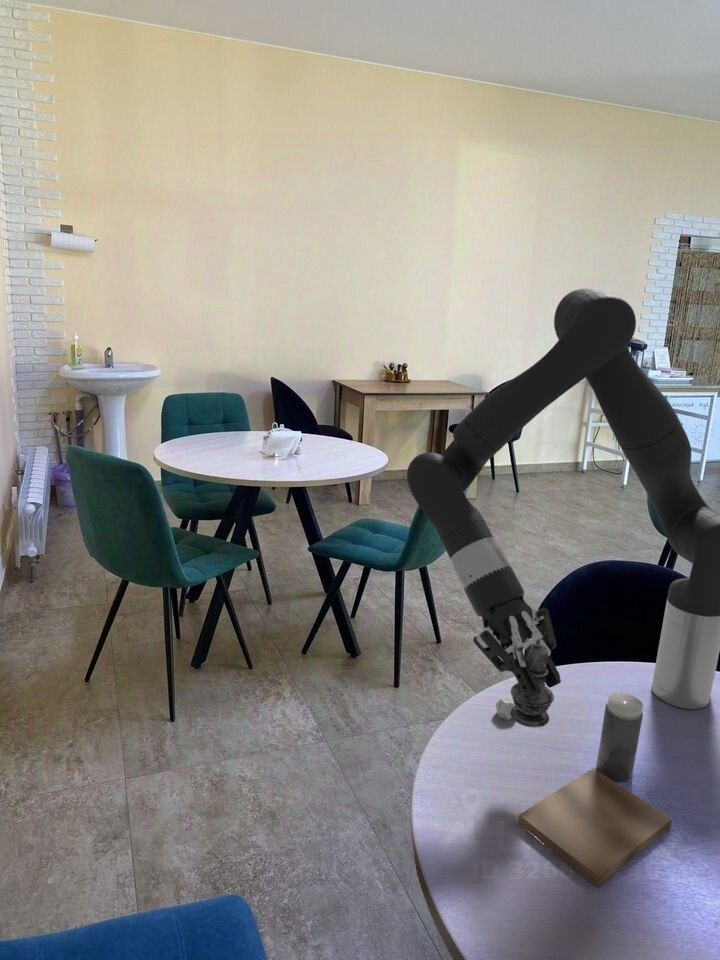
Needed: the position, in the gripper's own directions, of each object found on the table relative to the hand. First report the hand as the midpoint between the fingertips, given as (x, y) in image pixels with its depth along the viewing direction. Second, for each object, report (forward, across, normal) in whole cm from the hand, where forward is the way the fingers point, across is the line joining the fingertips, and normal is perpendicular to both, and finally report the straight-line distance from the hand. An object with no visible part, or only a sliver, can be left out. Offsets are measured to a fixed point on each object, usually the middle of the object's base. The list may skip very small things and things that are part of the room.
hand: (545, 689), depth 96 cm
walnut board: (+18, 0, +3) cm, 18 cm away
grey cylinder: (+14, +12, +7) cm, 20 cm away
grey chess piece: (+2, 0, +5) cm, 6 cm away
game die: (+2, +9, +20) cm, 22 cm away
